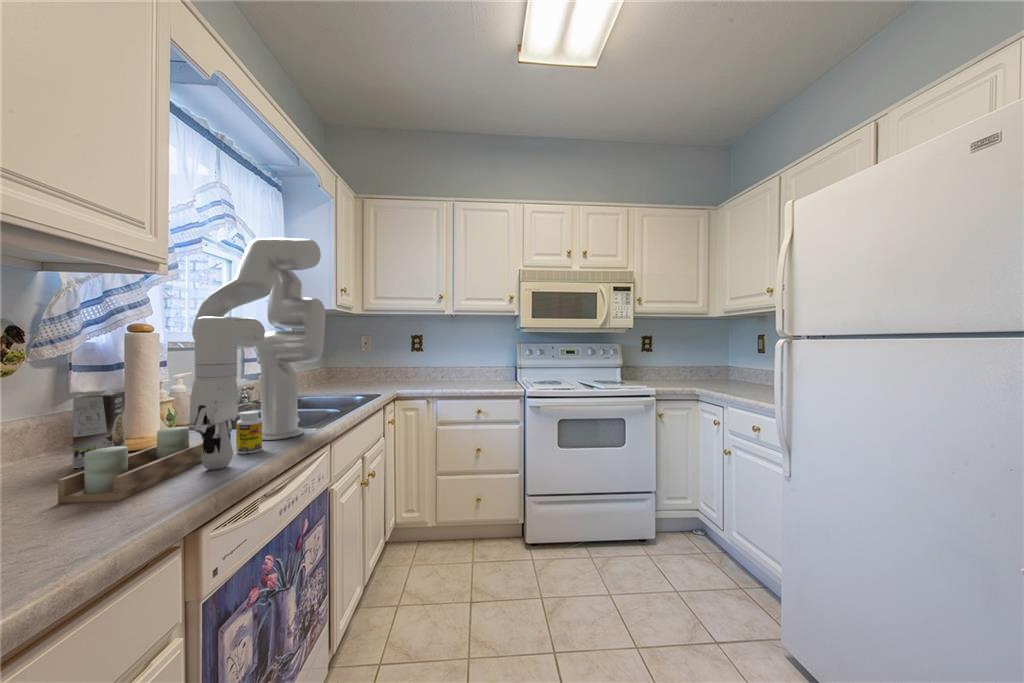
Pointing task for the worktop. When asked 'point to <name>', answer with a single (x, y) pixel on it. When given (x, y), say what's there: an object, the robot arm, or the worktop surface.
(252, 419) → the supplement bottle
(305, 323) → the robot arm
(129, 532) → the worktop surface
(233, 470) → the worktop surface
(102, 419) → the coffee box
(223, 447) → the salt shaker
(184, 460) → the spice rail
